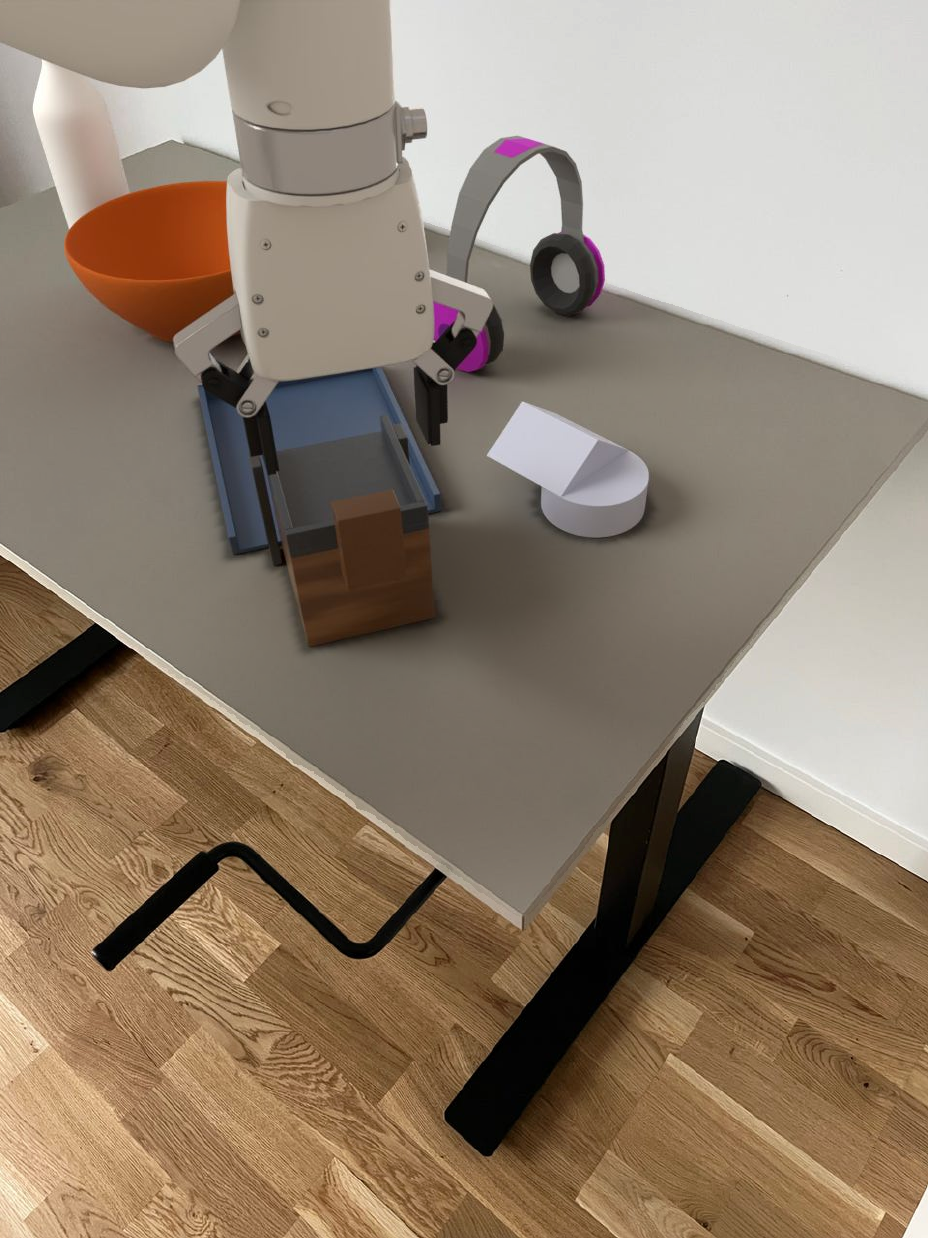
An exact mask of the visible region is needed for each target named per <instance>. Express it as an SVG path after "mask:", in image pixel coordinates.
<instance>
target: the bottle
mask: <svg viewBox="0 0 928 1238" xmlns="http://www.w3.org/2000/svg"><path fill="white" fill-rule="evenodd" d="M40 69H41V70H40V74H39V78H38V81H37V85H36V89H35V93H34V98H33V102H32V112H33V113H32V114H33V118H34V121H35V122H34V123H35V125H36V129H37V132H38V135H39V138H40V141H41V145H42V147H43V151H44V155H45V157H46V160H47V164H48V167H49V170H50V173H51V177H52V179H53V183H54V186H55V189H56V193H57V195H58V198H59V202H60V205H61V209H62V211H63V215H64V218H65V222H66V224H67V227H68V230H69V229H70V228H71V227H72V225H73V224H74V223H75V222H76V221H77V220H78V219H79V218H81V217H82V216H83V215H85V214H86V213H88V212H89V211H91V210H92V209H94V208H96V207H97V206H100V205H102V204H104V203H106V202H108V201H110V200H113V199H115V198H118V197H121V196H123V195H126V194H129V193H131V192H130V188H129V184H128V180H127V176H126V173H125V169H124V165H123V162H122V158H121V154H120V150H119V147H118V142H117V139H116V135H115V132H114V131H115V130H114V127H113V123H112V120H111V116H110V112H109V109H108V106H107V104H106V101H105V99H104V97H103V96H102V94H101V93H100V92H99V90H98V89H97V88H96V87H95V86H94V85H93V83H91V81H89V79H88V77H87V76H84V75H82V74H79V73H76V72H73V71H71V70H68V69H66V68H63V67H60V66H58V65H55V64H53V63H50V62H48V61H45V60H43V59H41V68H40Z"/></svg>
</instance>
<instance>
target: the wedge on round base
mask: <svg viewBox="0 0 928 1238" xmlns="http://www.w3.org/2000/svg"><path fill="white" fill-rule="evenodd" d="M486 456H487V457H488V458H490V459H492V460H494V461H496V462H497V463H499V464H501V465H503V466H504V467H506V468H508V469H510V470H512V471H513V472H515V473H517V474H519V476H522V477H524V478H525V479H528V480H529V481H531V482H533V483H534V484H536V485H538V486H540V487H541V493H540V494H541V497H540V507H541V511H542V513H543V515H544V516H545V517H546V519H547V520H548V522H550V523H551V524H552V525H553V526H555V527H556V528H557V529H560V530H562V531H563V532H566V533H568V534H570V535H574V536H578V537H583V538H597V539H598V538H599V539H600V538H607V537H608V538H609V537H613V536H614V537H615V536H618V535H620V534H623V533H626V532H628V531H630V530H631V529H633V528H634V527H635V526H637V525H638V524H639V523H640V521H641V520H642V518H643V517H644V514H645V509H646V502H647V495H648V488H649V480H650V475H649V474H650V473H649V469H648V467H647V464H646V463H645V462H644V461H643V459H642V458H641V457H640V456H638V455H637V454H636V453H634V452H633V451H631V450H629V449H627V448H625V447H624V446H621V445H619V444H617V443H615V442H613V441H611V440H609V439H608V438H605V437H603V436H601V435H599V434H597V433H596V432H594V431H592V430H589V429H588V428H586V427H583V426H581V425H580V424H577V423H576V422H573V421H572V420H570V419H568V418H565V417H564V416H562V415H560V414H558V413H556V412H553V411H550V410H547V409H545V408H542V407H539V406H537V405H534V404H531V403H528V402H526V401H521V402H520V404H519V406H518V407H517V409H516V410H515V411H514V413H513V414H512V416H511V417H510V419H509V421H508V422H507V423H506V425H505V427H504V428H503V429H502V432H501V433H500V434H499V436H498V438H497V439H496V441H495V442H494V443H493V445H492V447H491V448H490V450H489V451H488V453H487V454H486Z"/></svg>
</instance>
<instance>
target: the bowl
mask: <svg viewBox="0 0 928 1238" xmlns="http://www.w3.org/2000/svg"><path fill="white" fill-rule="evenodd" d="M226 192H227V180H200V181H199V180H197V181H185V182H176V183H169V184H163V185H158V186H152V187H148V188H144V189H141V190H137V191H133V192H130V193H129V194H126V195H123V196H121V197H118V198H115V199H113V200H110V201H108V202H106V203H104V204H102V205H100V206H97V207H96V208H94V209H92V210H91V211H89V212H88V213H86V214H85V215H83V216H82V217H81V218H79V219H78V220H77V221H76V222H75V223H74V224H73V225H72V227H71V228H70V229H69V228H68V231H67V233H66V235H65V238H64V242H63V248H64V249H63V250H64V254H65V257H66V260H67V262H68V264H69V266H70V268H71V269H72V271H73V272H74V274H75V276H76V278H77V279H78V280H79V281H80V283H81V285H83V286H84V288H85V289H86V290H87V291H88V292H89V293H90V294H91V295H92V296H93V297H94V298H95V299H96V300H97V301H98V302H99V303H101V304H102V305H103V306H104V307H105V308H107V309H108V310H110V312H112V313H113V314H115V315H117V316H118V317H119V318H121V319H123V320H125V321H126V322H128V323H129V324H132V325H133V326H135V327H137V328H139V329H141V330H143V331H144V332H146V333H148V334H149V335H150V336H152V337H154V338H156V339H158V340H161V341H164V342H168V343H172V344H173V338H174V336H175V335H176V334H177V333H178V332H180V331H181V330H183V329H184V328H186V327H187V326H188V325H190V324H191V323H193V322H194V321H196V320H197V319H199V318H200V317H202V316H203V315H204V314H206V313H207V312H209V311H210V310H212V309H213V308H215V307H216V306H218V305H219V304H221V303H222V302H223V301H225V300H226V299H228V298H229V297H231V296H232V295H234V289H233V281H232V273H231V265H230V256H229V247H228V234H227V212H226ZM239 334H240V335H241V332H240V330H239V331H238V332H236V333H235V334H233V335H232V336H230V337H229V338H230V339H231V338H233V337H235V336H237V335H239ZM229 338H228V339H229Z"/></svg>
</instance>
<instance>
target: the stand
mask: <svg viewBox="0 0 928 1238" xmlns="http://www.w3.org/2000/svg"><path fill="white" fill-rule="evenodd" d="M392 427H393V429H394V431H395V433H396V436H397V438H398V440H399V442H400V445H401V447H402V449H403V451H404V454H405V456H406V458H407V460H408V463H409V465H410V459H409V447H408V437H407V435H406V433H405V431H404V429H403V426H402V424H401V423H398V424H393V425H392ZM248 456H249V460H250V465H251V469H252V474H253V479H254V483H255V488H256V492H257V497H258V501H259V506H260V510H261V515H262V520H263V524H264V529H265V533H266V538H267V542H268V552H269V555H270V559H271V563H272V566H275V567H276V566H279V565H283V559H282V554H281V549H280V545H279V544H278V539H277V534H276V529H275V525H274V520H273V515H272V510H271V506H270V501H269V496H268V491H267V487H266V482H265V477H264V472H263V467H262V463H261V460H260V456H254V457H251V456H250V452H248ZM267 476H268V475H267ZM268 481H269V486H270V491H271V495H272V500H273V505H274V510H275V515H276V520H277V524H278V529H279V534H280V539H281V544H282V545H281V548H282V552H283V556H284V559H285V563H286V567H287V571H288V575H289V578H290V583H291V586H292V590H293V593H294V594H293V595H294V597H295V601H296V605H297V609H298V612H299V616H300V621H301V623H302V629H303V631H304V636H305V640H306V643H307V646H308V648H310V647H314V646H318V645H323V644H327V643H331V642H335V641H340V640H345V639H348V638H349V639H350V638H353V637H357V636H362V635H366V634H371V633H374V632H379V631H383V630H387V629H392V628H396V627H400V626H404V625H409V624H413V623H417V622H422V621H426V620H430V619H435V617H436V614H435V613H436V612H435V598H434V596H435V595H434V584H433V569H432V568H433V567H432V552H431V551H432V549H431V536H430V527H429V528H428V529H424V530H419V531H414V532H410V533H405V534H403V540H404V551H405V562H406V574H407V578H405V579H401V580H396V581H392V582H387V583H383V584H378V585H374V586H369V587H365V588H360V589H356V590H351V591H348V589H347V586H346V583H345V580H344V577H343V574H342V569H341V562H340V556H339V549H338V548H335V549H330V550H325V551H321V552H316V553H311V554H307V555H302V556H297V557H292V558H291V557H290V554H289V550H288V547H287V543H286V539H285V535H284V532H283V528H282V524H281V521H280V517H279V513H278V509H277V506H276V502H275V498H274V495H273V491H272V487H271V483H270V480H269V476H268Z"/></svg>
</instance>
